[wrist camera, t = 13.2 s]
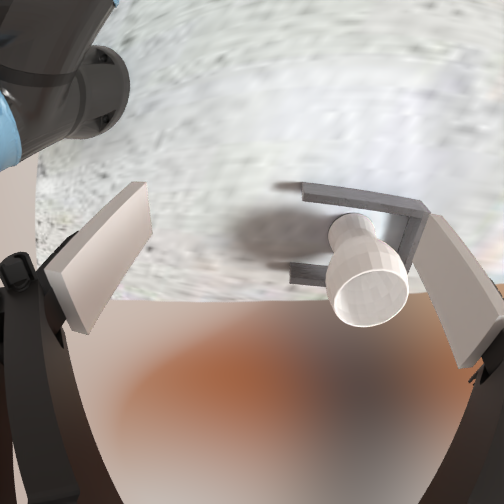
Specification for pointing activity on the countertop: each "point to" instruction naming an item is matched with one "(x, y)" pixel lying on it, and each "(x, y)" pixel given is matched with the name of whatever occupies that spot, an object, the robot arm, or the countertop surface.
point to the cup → (363, 274)
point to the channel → (368, 201)
